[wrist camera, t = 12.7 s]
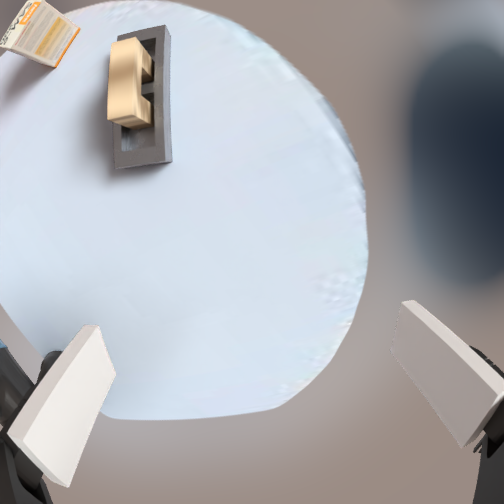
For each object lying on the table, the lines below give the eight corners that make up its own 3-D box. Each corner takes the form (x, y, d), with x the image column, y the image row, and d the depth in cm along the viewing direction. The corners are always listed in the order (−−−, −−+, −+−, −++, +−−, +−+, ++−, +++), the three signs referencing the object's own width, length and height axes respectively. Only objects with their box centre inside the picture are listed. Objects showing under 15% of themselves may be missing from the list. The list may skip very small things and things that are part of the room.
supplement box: (65, 26, 26) (27, -1, 13) (81, 29, 27) (43, -2, 14) (40, 65, 27) (-4, 46, 15) (56, 69, 28) (10, 48, 16)
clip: (154, 126, 33) (132, 114, 24) (134, 130, 32) (107, 119, 24) (154, 62, 30) (135, 36, 21) (135, 66, 30) (111, 43, 21)
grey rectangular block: (172, 161, 35) (165, 160, 31) (125, 168, 35) (114, 168, 31) (170, 36, 29) (165, 24, 26) (126, 45, 29) (117, 36, 25)
